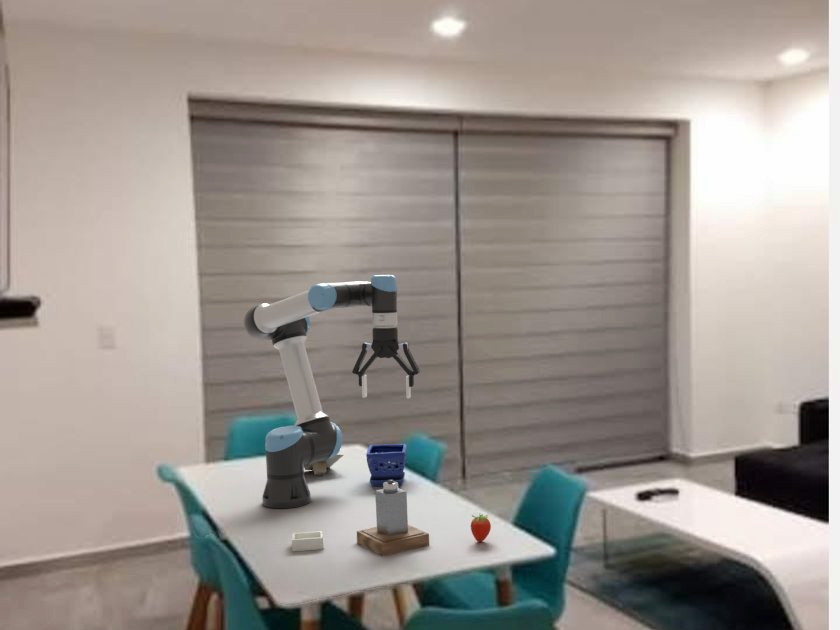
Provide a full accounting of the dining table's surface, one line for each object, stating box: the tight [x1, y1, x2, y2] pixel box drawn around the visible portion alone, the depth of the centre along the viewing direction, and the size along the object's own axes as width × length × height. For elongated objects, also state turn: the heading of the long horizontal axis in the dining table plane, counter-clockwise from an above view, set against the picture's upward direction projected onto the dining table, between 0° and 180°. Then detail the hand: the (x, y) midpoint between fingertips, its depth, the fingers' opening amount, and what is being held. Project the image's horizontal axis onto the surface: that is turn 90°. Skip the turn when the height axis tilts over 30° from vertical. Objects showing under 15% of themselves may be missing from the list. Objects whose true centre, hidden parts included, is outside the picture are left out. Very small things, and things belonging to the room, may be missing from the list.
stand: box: [356, 524, 430, 557], centre depth 234 cm, size 14×14×3 cm
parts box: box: [291, 530, 324, 552], centre depth 234 cm, size 8×6×3 cm
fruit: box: [470, 513, 492, 543], centre depth 233 cm, size 5×5×8 cm
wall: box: [304, 454, 344, 476], centre depth 314 cm, size 16×9×15 cm
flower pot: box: [365, 443, 408, 487], centre depth 299 cm, size 13×13×12 cm
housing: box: [374, 480, 409, 537], centre depth 234 cm, size 6×6×14 cm
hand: (386, 397), depth 264 cm, fingers open, 13 cm apart
